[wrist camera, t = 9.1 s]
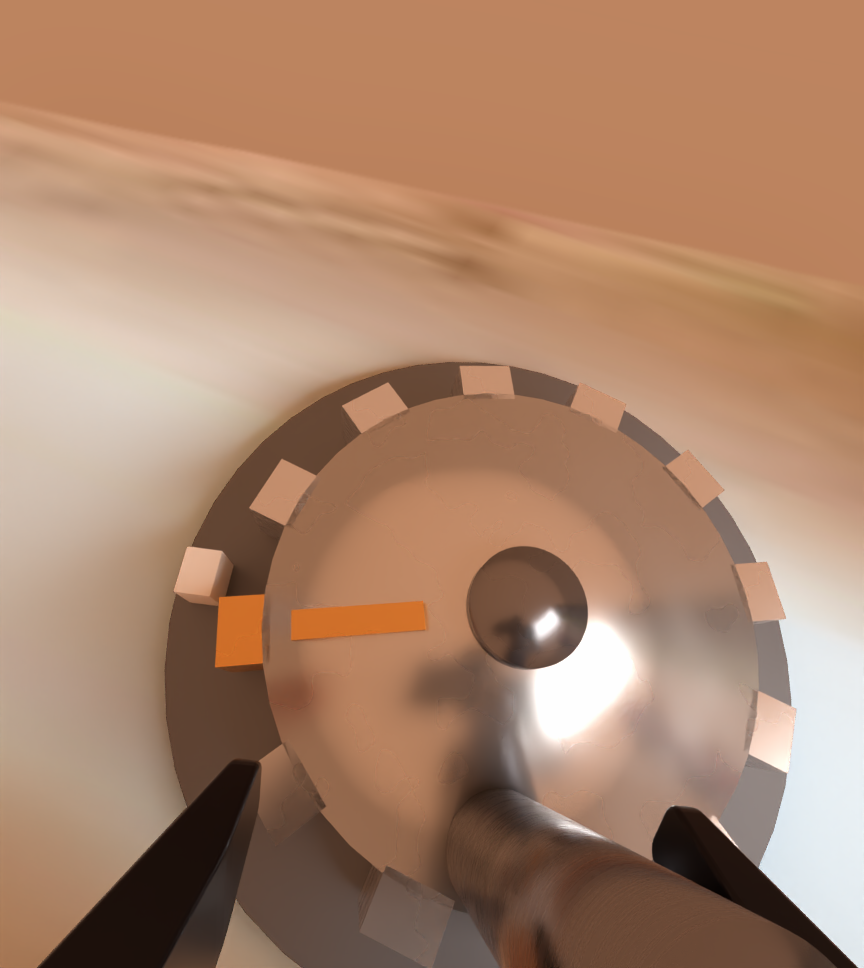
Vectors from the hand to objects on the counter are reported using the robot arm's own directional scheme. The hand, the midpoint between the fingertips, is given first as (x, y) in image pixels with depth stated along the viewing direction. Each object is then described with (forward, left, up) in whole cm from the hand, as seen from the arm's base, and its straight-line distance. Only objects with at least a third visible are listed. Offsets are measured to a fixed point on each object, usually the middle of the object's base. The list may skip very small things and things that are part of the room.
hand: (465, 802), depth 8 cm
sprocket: (+4, +1, -6) cm, 8 cm away
